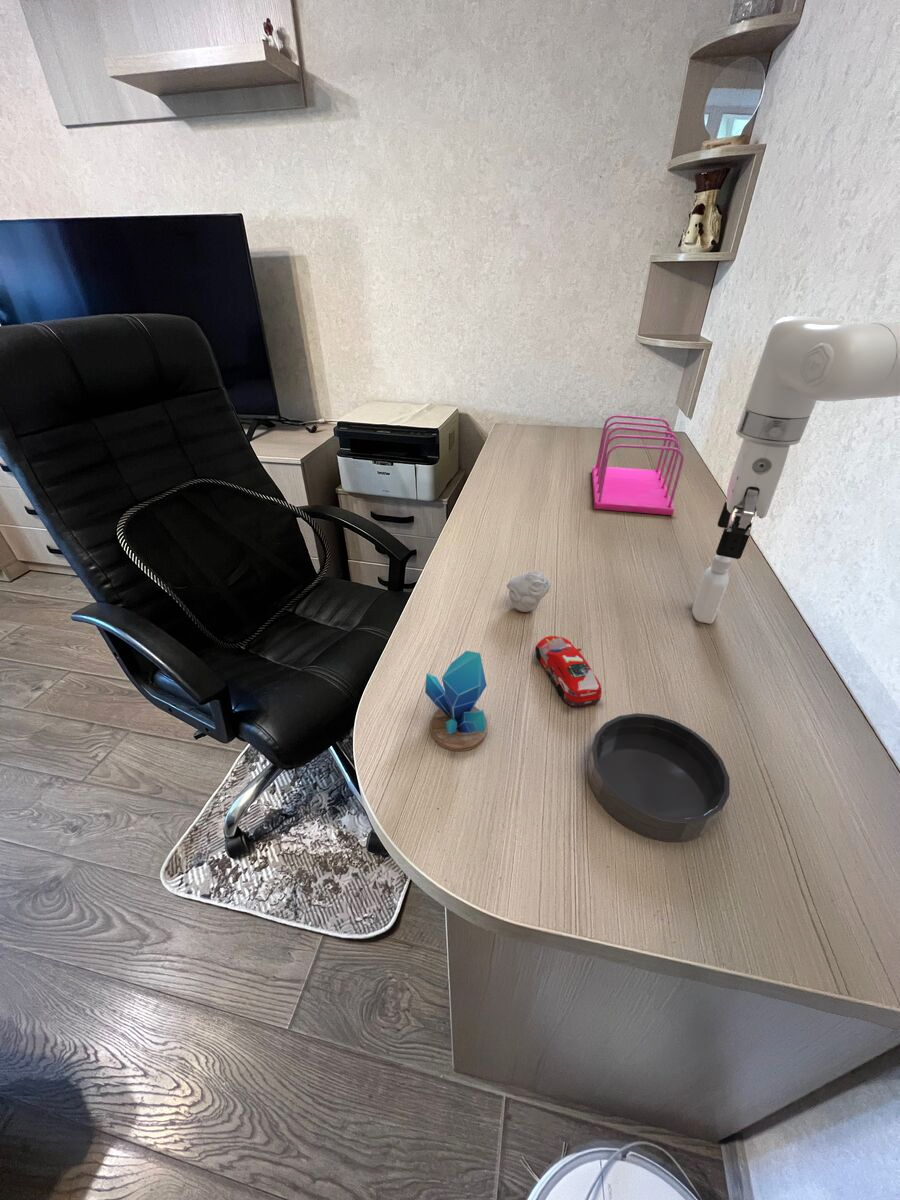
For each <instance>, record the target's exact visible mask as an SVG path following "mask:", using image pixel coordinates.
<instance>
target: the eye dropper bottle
mask: <svg viewBox="0 0 900 1200" xmlns="http://www.w3.org/2000/svg"><path fill="white" fill-rule="evenodd" d="M732 562H733V561H732V558H729V557H724V556H719V555H717V554H716V555H715V556H714V558H713V560H712V562H711V566H709V567H707V568H706V569H705V570H704V574H703V576H702V580H701V581H700V584H699V587H698V591H697V593H696V597H695V599H694V603H693V605H692V610H691V611H692V616H693V617H694V619H695V620H696V621H697V622H699V623H702V624H703V623H704V624H708V625H711V624H713V623H714V621H715V619H716V616H717V615H718V612H719V608H720V606H721V603H722V600H723V598H724V595H725V593H726V591H727V588H728V585H729V580H730V578H729V573H728V572H729V569H730V567H731V564H732Z"/></svg>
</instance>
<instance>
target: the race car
mask: <svg viewBox="0 0 900 1200" xmlns="http://www.w3.org/2000/svg"><path fill="white" fill-rule="evenodd" d="M581 651H582V648H577V647H576V646H574V645H573V643H572V642H571V641H570V640H568V639H567V638H565V637H562V636H557V635H549V636H545V637H543V638H542V639H540V641H539V642H537V644H536V646H535V656H536V659H537V660H538V661H540V664H541V665H542V667H543V669H544V670H545V672H546V674H547V675H548V677H549V678H550V680H551V682H552V683H553V685H554V687H555V688H556V689H557V693H558V695H559V697H560V699H563V701H565V702H566V703H567V705H569V706H572V707H577V708H579V707H583V706H590V705H593V704H598V702H600V701H601V697H602V686H601V682H600V681H599V679H598V678H597V676H596V674H595V673H594V671H593V670H592V668H591V666H590V665H589V663H588V662H587V660H586V659H585V657H584V656H583V654H582V653H581Z"/></svg>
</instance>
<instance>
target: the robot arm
mask: <svg viewBox="0 0 900 1200" xmlns="http://www.w3.org/2000/svg"><path fill="white" fill-rule="evenodd" d="M892 397H893V398H894V397H900V321H892V322H890V321H889V322H888V321H887V322H870V323H845V324H844V323H842V322H841V321H840V320H838V319H835V318H830V317H824V316H823V317H822V316H811V315H792V316H785V317H781V318H780V319H778V320H777V321H776V322H775V323H774V324H773V325H772V326H771V329H770V330H769V333H768V336H767V338H766V342H765V344H764V347H763V351H762V354H761V356H760V360H759V363H758V365H757V368H756V371H755V374H754V377H753V380H752V383H751V386H750V389H749V392H748V395H747V397H746V401H745V404H744V406H743V410H742V413H741V416H740V419H739V422H738V425H737V428H736V431H735V434H736V435H737V436H738V437H739V438H742V442H741V445H740V447H739V450H738V453H737V456H736V459H735V462H734V465H733V467H732V471H731V474H730V478H729V482H728V485H727V491H726V501H724V503H723V507H722V509H721V512H720V515H719V519H718V521H717V527H719V528H722V529H723V531H722V534H721V537H720V539H719V543H718V545H717V548H716V551H715V554H716V555H719V556H724V557H729V558H731V559H734V560H739V559H741V558H742V555H743V553H744V551H745V548H746V546H747V543H748V541H749V538H750V535H751V531H752V528H753V524H754V519H755V516H756V517H759V519H761V520H762V519H764V518H766V516H767V515H768V512H769V510H770V507H771V504H772V502H773V499H774V495H775V493H776V490H777V488H778V484H779V483H780V479H781V477H782V474H783V471H784V467H785V465H786V463H787V462H786V461H787V458H788V455H789V451H790V447H791V446H795V445H797V444H799V443H800V442H801V438H803V434H804V432H805V430H806V427H807V426H808V425H807V424H808V423H809V421H810V418H811V415H812V413H813V410H814V408H815V406H816V403H817V401H819V402H841V401H855V400H863V399H878V398H892Z"/></svg>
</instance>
